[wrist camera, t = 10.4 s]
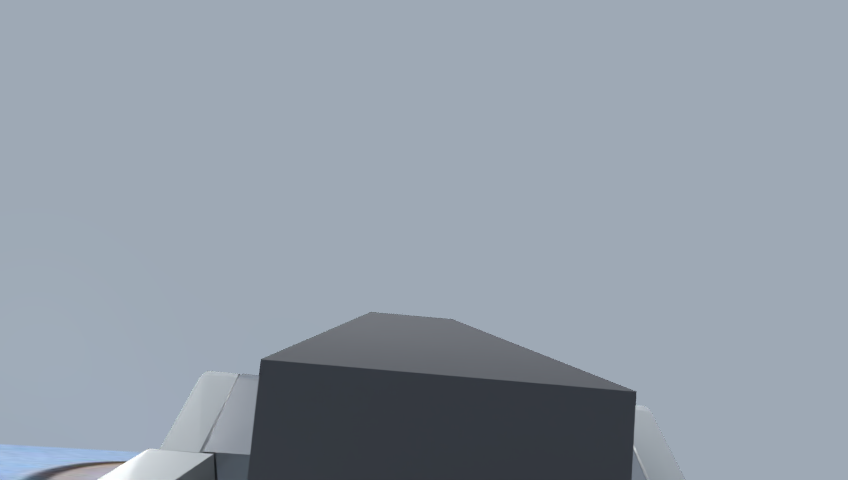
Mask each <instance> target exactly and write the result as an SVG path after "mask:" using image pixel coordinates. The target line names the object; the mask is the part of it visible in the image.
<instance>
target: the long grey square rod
mask: <svg viewBox="0 0 848 480" xmlns="http://www.w3.org/2000/svg"><path fill="white" fill-rule="evenodd" d="M635 406H636V391H633V390H631V389H628V388H626V387H623V386H621V385H618V384H615V383H613V382H610V381H608V380H605V379H603V378H600V377H598V376H595V375H592V374H590V373H587V372H585V371H582V370H580V369H577V368H575V367H572V366H570V365H567V364H565V363H562V362H560V361H557V360H554V359H552V358H549V357H547V356H544V355H542V354H539V353H537V352H534V351H532V350H529V349H526V348H524V347H521V346H519V345H516V344H514V343H511V342H509V341H506V340H504V339H501V338H498V337H496V336H493V335H491V334H488V333H486V332H483V331H481V330H478V329H476V328H473V327H471V326H468V325H466V324H463V323H460V322H458V321H455V320H453V319H443V318H432V317H420V316H409V315H398V314H386V313H376V312H370V313H368V314H365V315H363V316H361V317H358V318H356V319H354V320H351V321H349V322H347V323H345V324H342V325H340V326H338V327H335V328H333V329H330V330H328V331H326V332H323V333H321V334H319V335H316V336H314V337H312V338H310V339H307V340H305V341H302V342H300V343H298V344H296V345H293V346H291V347H288V348H286V349H284V350H281V351H279V352H277V353H275V354H272V355H270V356H268V357H265V358H263V359H261V364H260V373H259V381H258V390H257V398H256V407H255V416H254V425H253V433H252V442H251V451H250V460H249V468H248V477H247V480H632V462H633V444H634V425H635Z"/></svg>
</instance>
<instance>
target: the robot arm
mask: <svg viewBox="0 0 848 480" xmlns="http://www.w3.org/2000/svg"><path fill="white" fill-rule="evenodd" d="M258 381H259V375H249V374H242V375H240V374H236V373H225V372H213V371H207V372H205V373H204V374H203V375H201V376H200V378H199V379H198V381H197V383H196V385H195V387H194V388H193V390H192V392H191V394H190V395H189V398H188V399H187V401H186V403H185V405H184V406H183V408H182V410H181V411H180V413H179V415H178V417H177V419H176V420H175V422H174V424H173V426H172V427H171V429H170V431H169V433H168V435H167V437H166V438H165V440H164V442H163V444H162V445H161V447H160V449H147V450H145V451H144V452H142V453H140V454H139V455H137V456H135V457H134V458H132V459H131V460H129V461H127V462H126V463H124V464H122V465H121V466H119V467H117V468H116V469H114V470H112V471H111V472H109V473H107V474H106V475H104V476H102V477H101V478H99V479H97V480H247V477H248V468H249V460H250V451H251V442H252V433H253V425H254V416H255V407H256V398H257V390H258ZM632 480H685V478H684V476H683V474H682V472H681V470H680V468H679V466H678V464H677V462H676V460H675V458H674V456H673V454H672V452H671V450H670V449H669V446H668V444H667V443H666V440H665V438H664V436H663V434H662V432H661V430H660V429H659V427H658V425H657V423H656V421H655V419H654V417H653V415H652V413H651V411H650V410H649V409H648V408H647V407H645V406H638V405H636V406H635V425H634V444H633V462H632Z"/></svg>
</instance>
